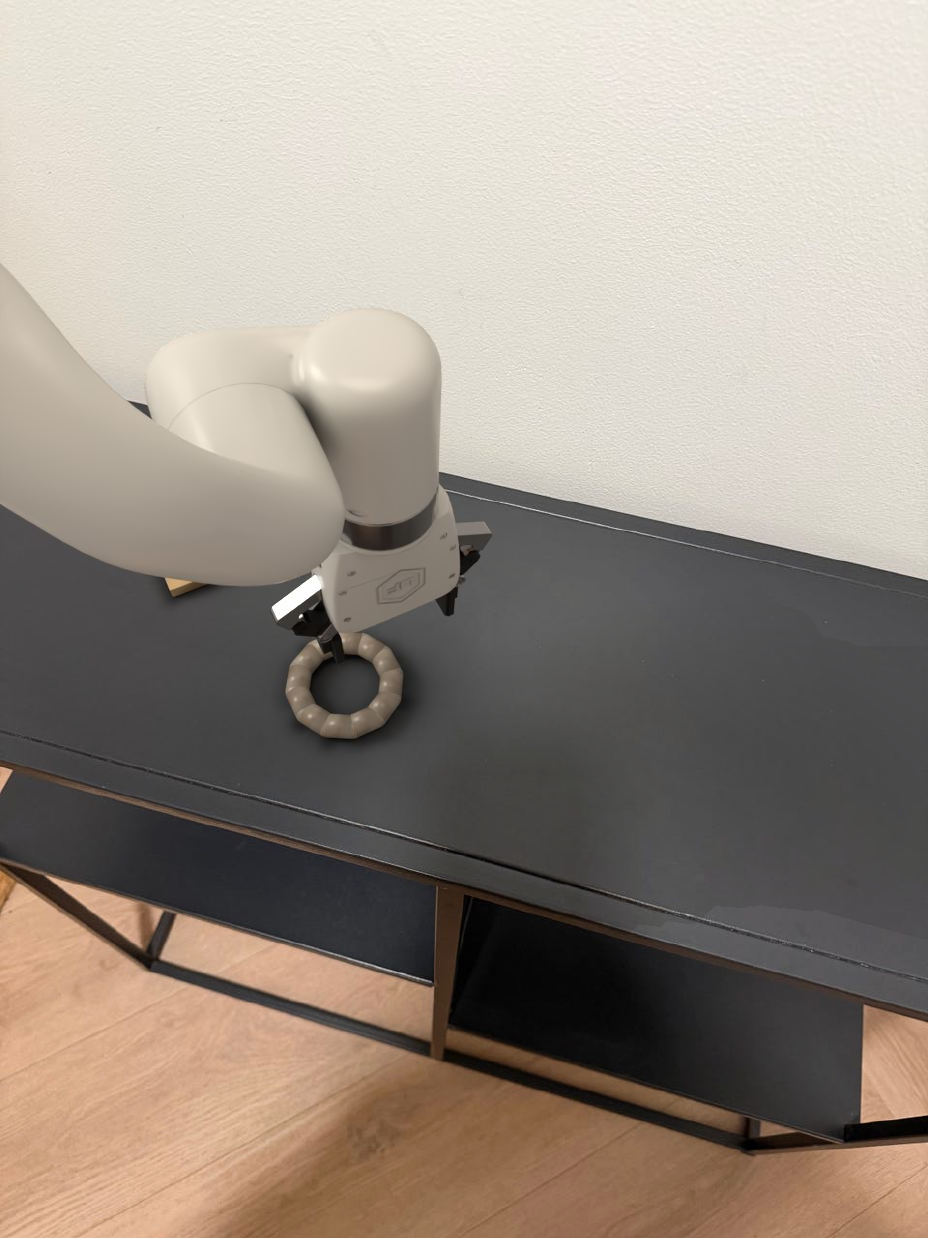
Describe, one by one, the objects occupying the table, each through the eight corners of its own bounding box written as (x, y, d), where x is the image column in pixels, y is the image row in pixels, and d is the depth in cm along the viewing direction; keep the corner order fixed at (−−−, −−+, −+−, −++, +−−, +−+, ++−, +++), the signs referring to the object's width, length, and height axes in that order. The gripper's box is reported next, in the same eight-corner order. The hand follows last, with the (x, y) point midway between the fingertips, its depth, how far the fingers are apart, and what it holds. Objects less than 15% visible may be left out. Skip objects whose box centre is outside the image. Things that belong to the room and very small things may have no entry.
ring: (315, 760, 70) (312, 752, 69) (271, 665, 75) (268, 654, 73) (421, 712, 73) (421, 702, 71) (373, 622, 77) (372, 611, 76)
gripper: (272, 591, 49) (307, 707, 64) (526, 489, 54) (503, 620, 69) (228, 499, 52) (271, 630, 67) (471, 410, 57) (461, 551, 72)
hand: (388, 625), depth 68 cm, fingers open, 9 cm apart
